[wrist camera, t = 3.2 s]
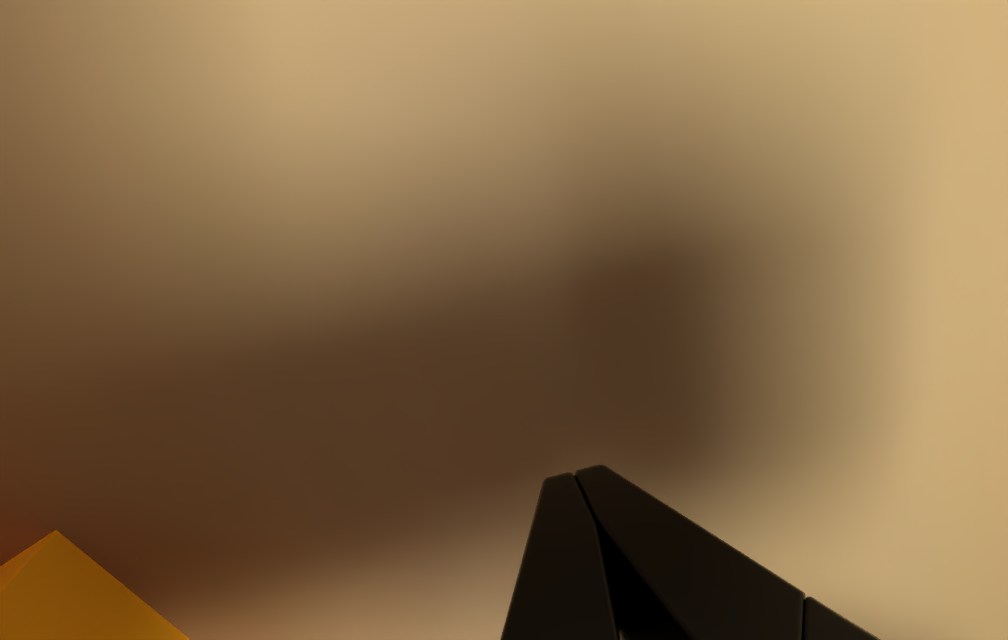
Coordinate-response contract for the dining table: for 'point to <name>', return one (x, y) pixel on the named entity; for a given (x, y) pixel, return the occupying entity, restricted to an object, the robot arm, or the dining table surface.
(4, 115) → the dining table surface
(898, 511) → the dining table surface
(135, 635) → the pipe clamp
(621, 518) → the robot arm
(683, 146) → the dining table surface
